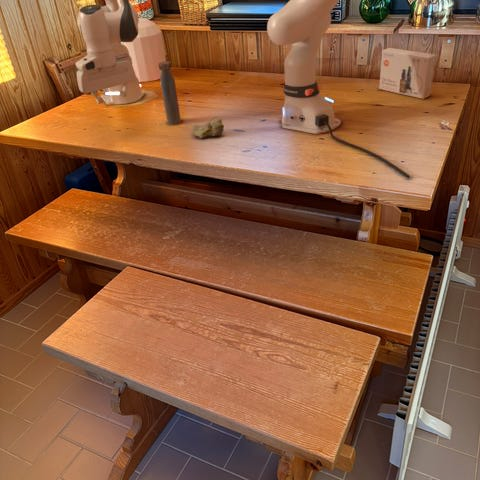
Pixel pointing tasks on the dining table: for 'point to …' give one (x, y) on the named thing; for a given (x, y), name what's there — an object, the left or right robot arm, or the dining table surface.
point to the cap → (164, 65)
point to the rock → (209, 128)
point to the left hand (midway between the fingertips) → (112, 99)
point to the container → (147, 51)
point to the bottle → (170, 97)
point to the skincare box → (407, 72)
